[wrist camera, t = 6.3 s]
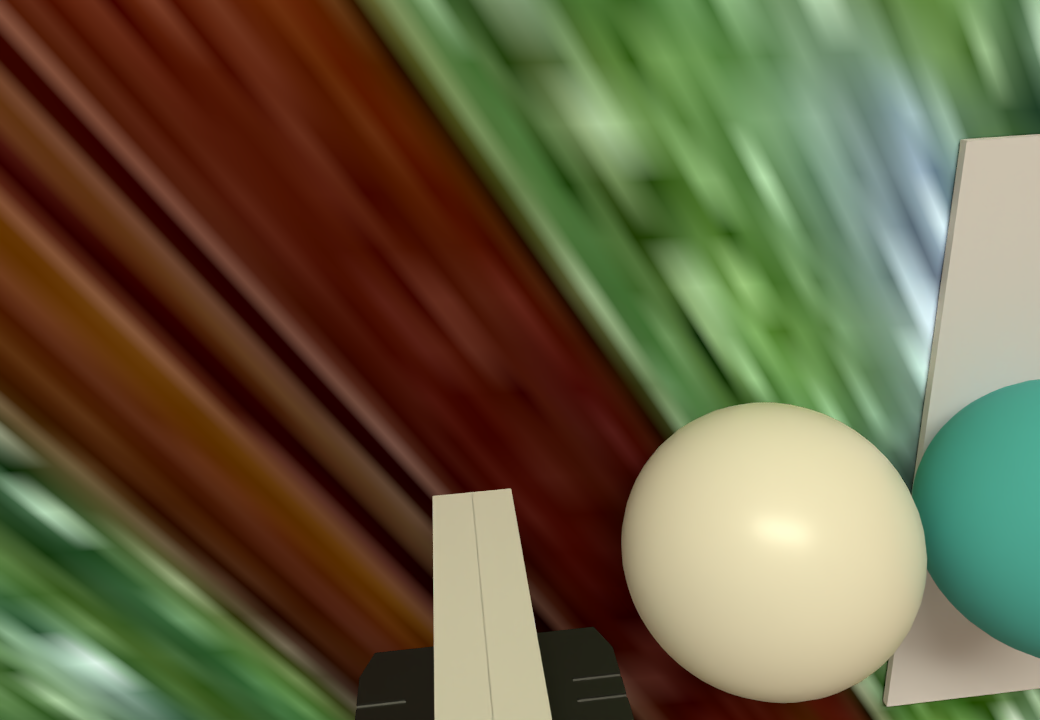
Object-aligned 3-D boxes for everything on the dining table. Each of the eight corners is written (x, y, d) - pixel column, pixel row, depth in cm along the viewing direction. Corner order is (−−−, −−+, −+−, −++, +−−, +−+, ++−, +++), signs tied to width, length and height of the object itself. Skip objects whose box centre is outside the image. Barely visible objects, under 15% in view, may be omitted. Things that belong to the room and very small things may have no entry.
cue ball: (564, 451, 14) (684, 345, 19) (576, 704, 16) (682, 556, 21) (918, 530, 11) (962, 384, 16) (880, 824, 13) (929, 623, 18)
